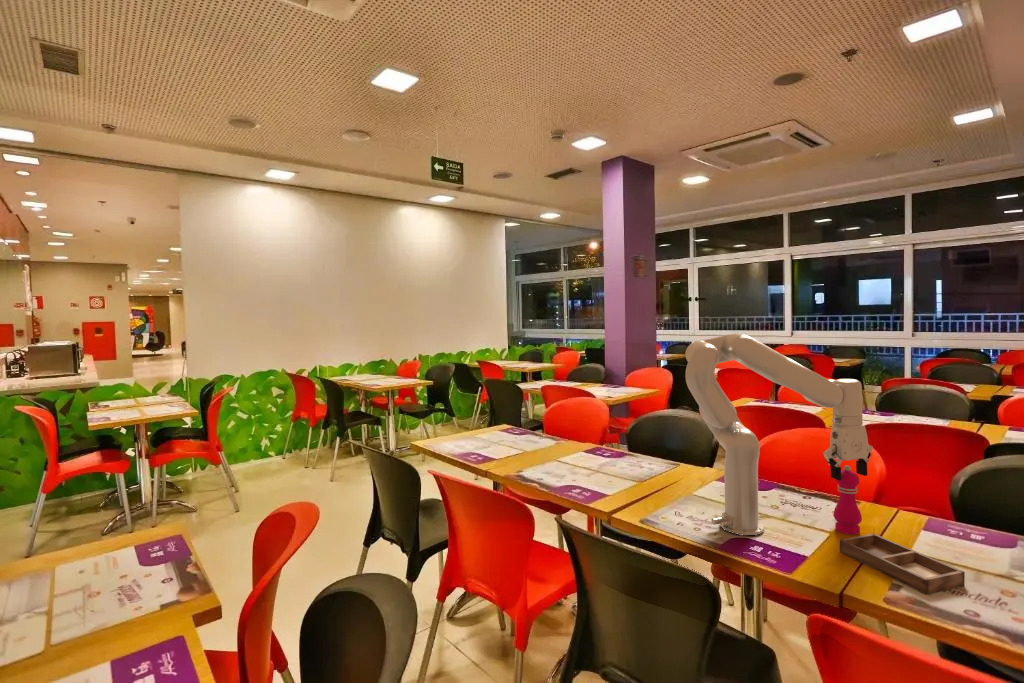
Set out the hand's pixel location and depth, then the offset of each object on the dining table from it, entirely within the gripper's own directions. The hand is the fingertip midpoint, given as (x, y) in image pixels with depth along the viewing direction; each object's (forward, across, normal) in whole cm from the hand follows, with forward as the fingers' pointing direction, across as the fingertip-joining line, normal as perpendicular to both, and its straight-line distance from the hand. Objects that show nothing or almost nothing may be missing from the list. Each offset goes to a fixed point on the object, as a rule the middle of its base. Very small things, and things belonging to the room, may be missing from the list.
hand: (849, 476), depth 157 cm
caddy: (+17, -9, -22) cm, 29 cm away
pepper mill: (+17, -1, 0) cm, 17 cm away
